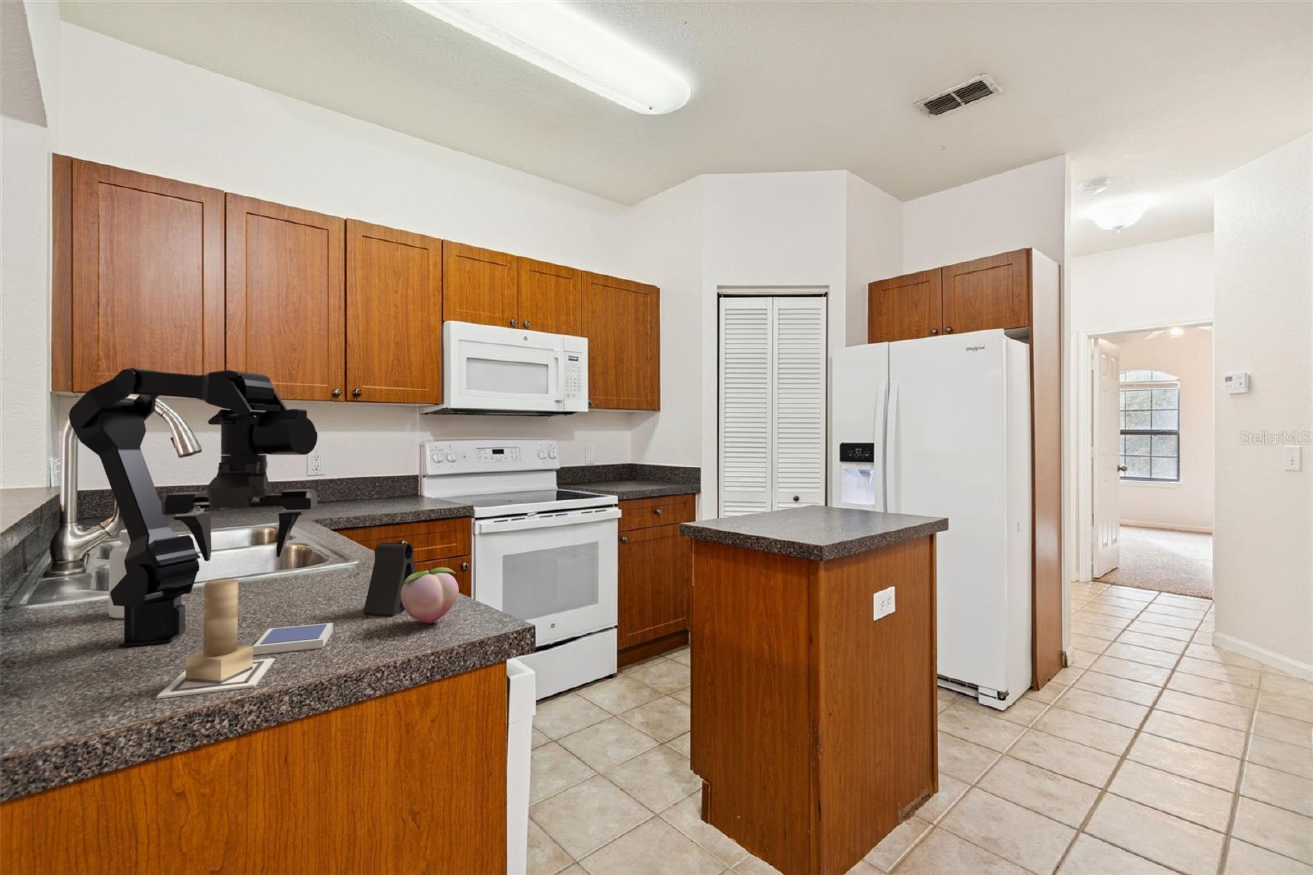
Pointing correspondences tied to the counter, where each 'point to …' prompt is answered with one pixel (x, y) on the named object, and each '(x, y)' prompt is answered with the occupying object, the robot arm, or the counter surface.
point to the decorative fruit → (429, 594)
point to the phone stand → (389, 578)
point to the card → (242, 681)
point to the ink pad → (293, 638)
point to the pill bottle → (117, 571)
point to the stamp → (220, 637)
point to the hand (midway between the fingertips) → (243, 558)
